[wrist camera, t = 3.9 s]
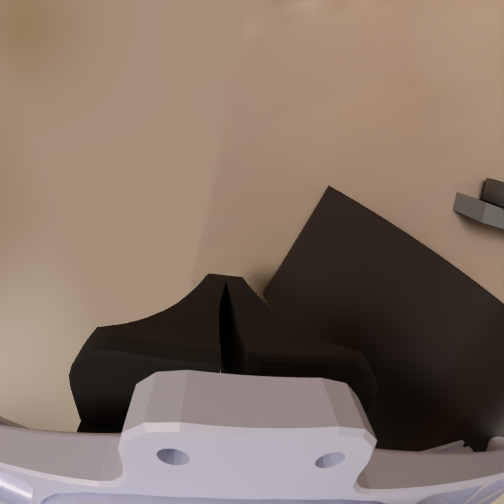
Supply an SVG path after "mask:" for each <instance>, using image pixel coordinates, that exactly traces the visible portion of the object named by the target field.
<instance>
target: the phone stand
mask: <svg viewBox="0 0 504 504" xmlns="http://www.w3.org/2000/svg"><path fill="white" fill-rule="evenodd" d="M263 296H264V298H265V299H266V300H267V302H268V303H269V305H270V306H271V308H272V309H273V311H274V312H275V313H277V314H278V315H279V316H281V317H282V318H284V319H285V320H286V321H288V322H289V323H291V324H293V325H294V326H296V327H298V328H299V329H301V330H303V331H305V332H307V333H309V334H311V335H313V336H315V337H318V338H320V339H323V340H325V341H328V342H331V343H333V344H336V345H340V346H344V347H347V348H351V349H355V350H359V351H361V352H362V354H363V355H364V357H365V359H366V360H367V362H368V364H369V366H370V368H371V369H372V371H373V373H374V376H375V378H376V380H377V392H376V395H375V397H374V400H373V402H372V404H371V406H370V408H369V410H368V412H367V413H366V416H367V419H368V421H369V423H370V425H371V428H372V430H373V432H374V435H375V437H376V439H377V443H376V446H375V448H376V449H386V450H398V451H413V452H420V451H424V450H428V449H432V448H436V447H439V446H443V445H446V444H450V443H453V442H456V441H460V440H463V441H464V445H463V447H467V446H469V447H470V448H471V449H472V450H473V452H485V451H486V450H487V447H488V443H489V441H490V440H491V439H492V438H493V437H504V304H503V303H502V302H501V301H500V300H498V299H497V298H496V297H495V296H493V295H492V294H491V293H489V292H488V291H487V290H486V289H484V288H483V287H482V286H480V285H479V284H478V283H476V282H475V281H474V280H473V279H471V278H470V277H469V276H467V275H466V274H464V273H463V272H462V271H460V270H459V269H458V268H456V267H455V266H454V265H452V264H451V263H449V262H448V261H447V260H445V259H444V258H442V257H441V256H440V255H438V254H437V253H435V252H434V251H432V250H431V249H429V248H428V247H427V246H425V245H424V244H422V243H421V242H419V241H418V240H416V239H415V238H413V237H412V236H410V235H409V234H407V233H406V232H404V231H403V230H401V229H399V228H398V227H396V226H395V225H393V224H392V223H390V222H389V221H387V220H385V219H384V218H382V217H381V216H379V215H377V214H376V213H374V212H373V211H371V210H369V209H368V208H366V207H364V206H363V205H361V204H359V203H358V202H356V201H354V200H353V199H351V198H349V197H348V196H346V195H344V194H343V193H341V192H339V191H337V190H336V189H334V188H332V187H330V186H328V188H327V189H326V191H325V193H324V194H323V196H322V198H321V199H320V201H319V203H318V204H317V206H316V208H315V209H314V211H313V213H312V214H311V216H310V218H309V219H308V221H307V223H306V224H305V226H304V228H303V229H302V231H301V233H300V234H299V236H298V238H297V239H296V241H295V243H294V244H293V246H292V247H291V249H290V251H289V252H288V254H287V256H286V257H285V259H284V260H283V262H282V264H281V265H280V267H279V269H278V270H277V272H276V273H275V275H274V277H273V278H272V280H271V281H270V283H269V285H268V286H267V288H266V289H265V291H264V293H263Z"/></svg>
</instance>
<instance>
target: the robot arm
mask: <svg viewBox="0 0 504 504" xmlns="http://www.w3.org/2000/svg"><path fill="white" fill-rule="evenodd" d="M220 368H221V373H220ZM69 379H70V387H71V390H72V394H73V397H74V401H75V404H76V407H77V410H78V413H79V416H80V419H81V422H80V425H79V427H78V430H77V432H61V431H49V430H39V429H30V428H27V427H25V426H22V425H20V424H17V423H15V422H12V421H10V420H7V419H5V418H3V417H0V504H490V503H492V502H493V501H495V500H496V499H497V498H499V497H500V496H501V495H502V494H503V493H504V437H493V438H492V439H491V440H490V441H489V443H488V447H487V450H486V451H485V452H473V450H472V449H471V448H470V447H469V446H467V447H463V445H464V441H463V440H460V441H456V442H453V443H450V444H446V445H443V446H439V447H436V448H432V449H428V450H424V451H420V452H413V451H398V450H386V449H376V448H375V446H376V443H377V439H376V437H375V435H374V432H373V430H372V428H371V425H370V423H369V421H368V419H367V416H366V413H367V412H368V410H369V408H370V406H371V404H372V402H373V400H374V397H375V395H376V392H377V380H376V378H375V376H374V373H373V371H372V369H371V368H370V366H369V364H368V362H367V360H366V359H365V357H364V355H363V354H362V352H361V351H359V350H355V349H351V348H347V347H344V346H340V345H336V344H333V343H331V342H328V341H325V340H323V339H320V338H318V337H315V336H313V335H311V334H309V333H307V332H305V331H303V330H301V329H299V328H298V327H296V326H294V325H293V324H291V323H289V322H288V321H286V320H285V319H284V318H282V317H281V316H279V315H278V314H277V313H275V312H274V311H273V310H272V309H271V308H270V307H269V306H267V305H266V304H265V303H264V302H263V301H262V300H261V299H260V298H259V297H258V296H257V294H256V293H255V292H254V291H253V290H252V289H251V288H250V286H249V285H248V284H247V283H246V281H245V280H244V279H243V278H242V277H236V276H227V275H218V274H208V275H206V276H205V278H204V279H203V280H202V281H201V283H200V284H199V285H198V286H197V287H196V288H195V289H194V290H193V291H192V292H190V293H189V294H188V295H187V296H186V297H184V298H183V299H182V300H181V301H179V302H178V303H177V304H175V305H173V306H171V307H170V308H168V309H166V310H164V311H162V312H159V313H157V314H155V315H152V316H150V317H148V318H144V319H141V320H138V321H134V322H129V323H125V324H120V325H112V326H105V327H97V328H96V329H95V331H94V332H93V333H92V334H91V336H90V337H89V338H88V339H87V341H86V342H85V344H84V345H83V347H82V349H81V350H80V352H79V354H78V356H77V357H76V359H75V361H74V363H73V364H72V366H71V370H70V374H69Z"/></svg>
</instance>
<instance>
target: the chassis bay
mask: <svg viewBox="0 0 504 504" xmlns="http://www.w3.org/2000/svg"><path fill="white" fill-rule="evenodd" d="M482 199H484V200H486V201H489V202H492V203H494V204H497V205H500V206H502V207H504V182H501V181H497V180H494V179H489V178H486V183H485V188H484V192H483V197H482ZM453 210H454V211H457V212H459V213H461V214H464V215H466V216H468V217H471V218H473V219H475V220H477V221H479V222H482V223H485V224H489V225H492V226H495V227H499V228H502V229H504V208H501V207H499V206H496V205H493V204H490V203H487V202H485V201H482V200H479V199H476V198H473V197H470V196H467V195H464V194H461V193H457V195H456V200H455V204H454V209H453Z"/></svg>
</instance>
